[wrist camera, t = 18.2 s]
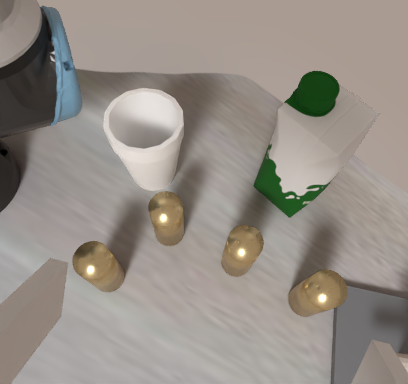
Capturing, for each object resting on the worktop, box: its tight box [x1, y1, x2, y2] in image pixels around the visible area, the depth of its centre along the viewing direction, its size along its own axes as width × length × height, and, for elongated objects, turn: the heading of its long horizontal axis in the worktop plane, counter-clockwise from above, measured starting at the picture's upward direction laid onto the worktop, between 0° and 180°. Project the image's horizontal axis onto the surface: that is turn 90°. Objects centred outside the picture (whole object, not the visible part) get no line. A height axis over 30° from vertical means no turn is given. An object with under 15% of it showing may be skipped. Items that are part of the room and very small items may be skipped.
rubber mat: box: [331, 286, 408, 384], centre depth 41 cm, size 16×16×1 cm
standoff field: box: [73, 191, 348, 317], centre depth 42 cm, size 12×30×9 cm, turn 78°
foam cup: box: [103, 88, 184, 191], centre depth 46 cm, size 10×9×13 cm
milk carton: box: [254, 71, 379, 218], centre depth 43 cm, size 9×9×20 cm
